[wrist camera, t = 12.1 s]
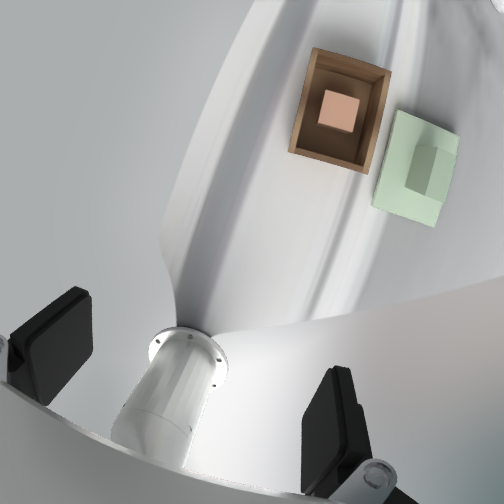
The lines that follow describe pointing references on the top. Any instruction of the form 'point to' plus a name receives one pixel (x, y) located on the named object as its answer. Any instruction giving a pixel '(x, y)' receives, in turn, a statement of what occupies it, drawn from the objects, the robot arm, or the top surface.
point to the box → (350, 84)
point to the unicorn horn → (498, 5)
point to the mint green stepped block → (416, 169)
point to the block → (337, 112)
